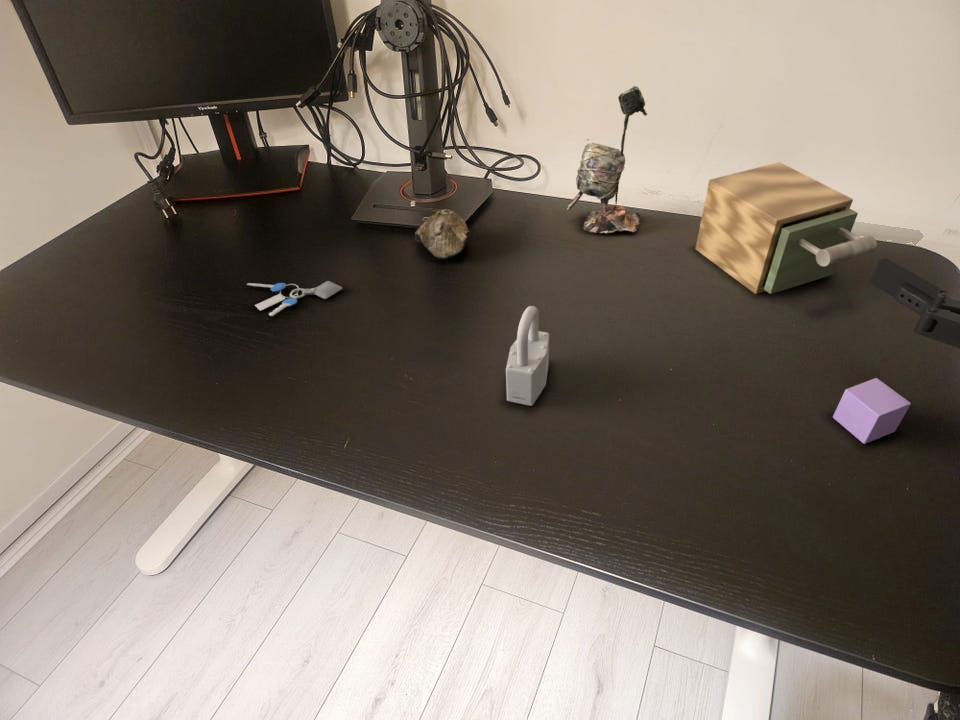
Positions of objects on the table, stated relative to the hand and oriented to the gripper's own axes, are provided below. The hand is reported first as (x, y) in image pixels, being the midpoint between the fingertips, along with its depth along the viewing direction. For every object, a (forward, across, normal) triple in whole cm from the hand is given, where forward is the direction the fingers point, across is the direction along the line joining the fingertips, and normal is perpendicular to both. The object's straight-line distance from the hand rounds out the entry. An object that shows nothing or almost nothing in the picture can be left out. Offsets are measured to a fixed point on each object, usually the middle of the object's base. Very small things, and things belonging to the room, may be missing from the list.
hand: (928, 253), depth 62 cm
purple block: (-8, -12, -12) cm, 19 cm away
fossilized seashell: (+44, -38, -12) cm, 60 cm away
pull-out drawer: (+16, 0, -11) cm, 20 cm away
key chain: (+40, -62, -12) cm, 75 cm away
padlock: (+12, -39, -13) cm, 43 cm away
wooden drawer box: (+21, 0, -12) cm, 24 cm away
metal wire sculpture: (+39, -13, -12) cm, 43 cm away
